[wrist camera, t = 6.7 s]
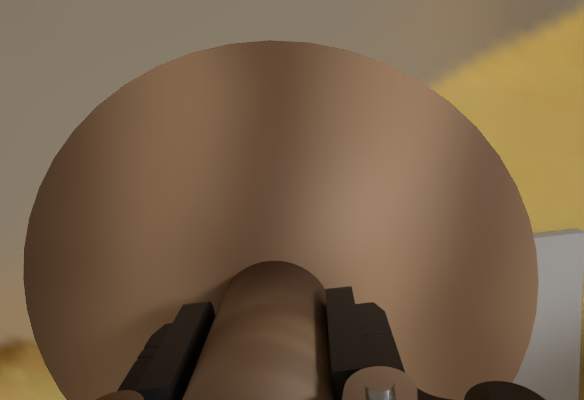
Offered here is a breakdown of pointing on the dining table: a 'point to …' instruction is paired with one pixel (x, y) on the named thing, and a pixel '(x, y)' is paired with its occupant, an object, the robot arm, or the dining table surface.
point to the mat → (556, 318)
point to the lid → (278, 227)
